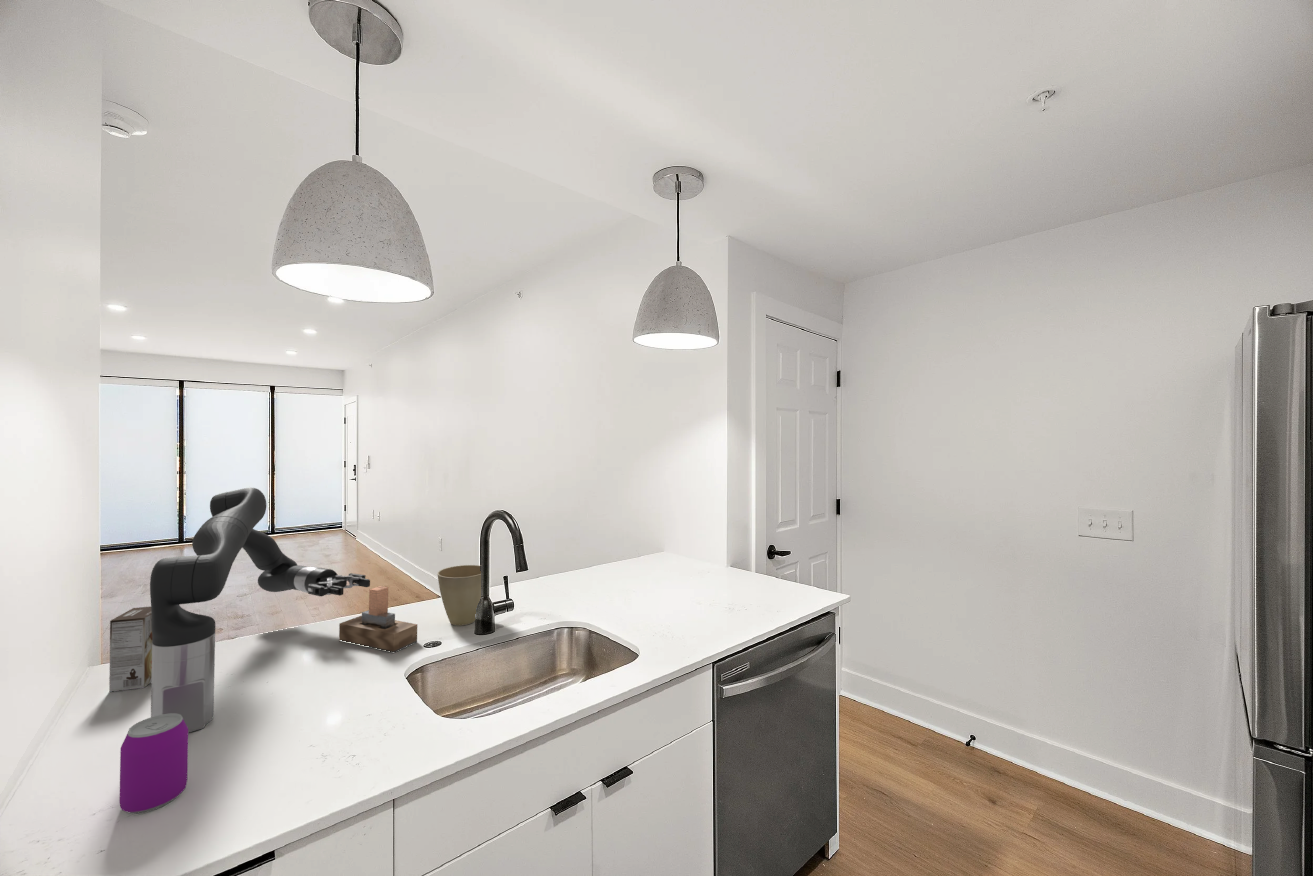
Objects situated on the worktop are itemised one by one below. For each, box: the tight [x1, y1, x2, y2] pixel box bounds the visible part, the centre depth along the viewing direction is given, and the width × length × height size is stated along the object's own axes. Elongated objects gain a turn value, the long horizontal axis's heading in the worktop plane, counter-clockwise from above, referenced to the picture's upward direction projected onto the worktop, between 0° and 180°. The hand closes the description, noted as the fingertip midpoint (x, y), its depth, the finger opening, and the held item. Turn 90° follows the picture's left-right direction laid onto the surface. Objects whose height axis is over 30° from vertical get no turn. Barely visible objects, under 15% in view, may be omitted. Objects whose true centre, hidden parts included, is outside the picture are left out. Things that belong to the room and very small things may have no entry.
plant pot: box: [436, 564, 481, 627], centre depth 161 cm, size 15×15×16 cm
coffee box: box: [108, 606, 152, 693], centre depth 119 cm, size 9×6×16 cm
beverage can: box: [118, 713, 189, 815], centre depth 81 cm, size 8×8×12 cm
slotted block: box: [338, 615, 418, 653], centre depth 144 cm, size 20×8×5 cm, turn 70°
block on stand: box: [361, 585, 396, 629], centre depth 144 cm, size 9×4×14 cm, turn 70°
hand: (356, 587), depth 148 cm, fingers open, 8 cm apart
